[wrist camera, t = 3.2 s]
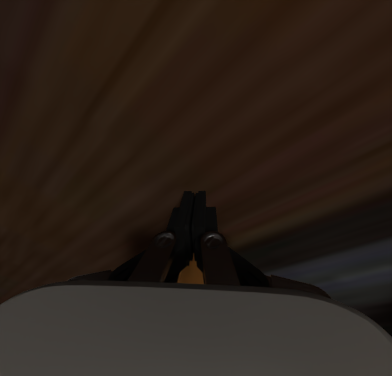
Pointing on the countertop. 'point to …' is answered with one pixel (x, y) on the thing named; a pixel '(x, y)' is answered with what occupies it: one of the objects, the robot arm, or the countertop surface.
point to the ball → (192, 274)
